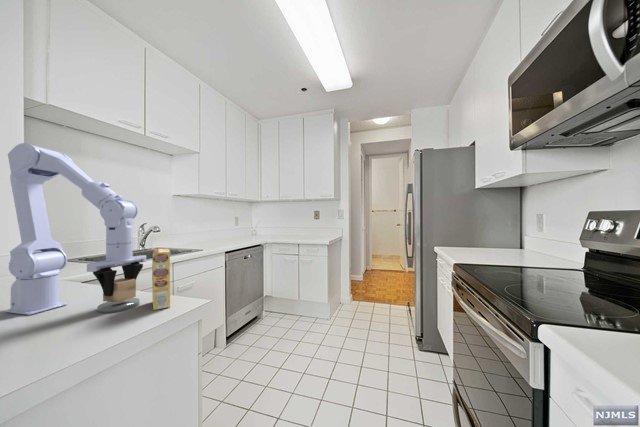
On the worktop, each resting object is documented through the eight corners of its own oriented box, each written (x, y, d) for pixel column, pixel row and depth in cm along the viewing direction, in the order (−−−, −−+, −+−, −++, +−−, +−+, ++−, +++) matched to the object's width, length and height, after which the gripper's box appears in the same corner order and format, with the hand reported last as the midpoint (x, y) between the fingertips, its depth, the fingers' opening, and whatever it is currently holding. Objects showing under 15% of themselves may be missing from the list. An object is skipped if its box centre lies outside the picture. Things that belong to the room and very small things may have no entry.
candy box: (170, 307, 67) (170, 251, 68) (151, 311, 65) (152, 252, 65) (169, 298, 75) (169, 248, 75) (152, 301, 72) (152, 249, 73)
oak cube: (103, 301, 66) (103, 282, 66) (121, 295, 71) (122, 278, 71) (117, 302, 65) (117, 283, 65) (135, 296, 70) (135, 279, 70)
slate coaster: (88, 311, 65) (88, 307, 65) (122, 300, 74) (123, 296, 74) (114, 314, 63) (114, 310, 63) (147, 302, 72) (147, 298, 72)
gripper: (101, 246, 61) (101, 302, 60) (154, 241, 75) (154, 286, 74) (80, 246, 62) (80, 300, 62) (135, 240, 76) (135, 284, 76)
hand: (119, 292), depth 68 cm, fingers closed on oak cube, 5 cm apart
